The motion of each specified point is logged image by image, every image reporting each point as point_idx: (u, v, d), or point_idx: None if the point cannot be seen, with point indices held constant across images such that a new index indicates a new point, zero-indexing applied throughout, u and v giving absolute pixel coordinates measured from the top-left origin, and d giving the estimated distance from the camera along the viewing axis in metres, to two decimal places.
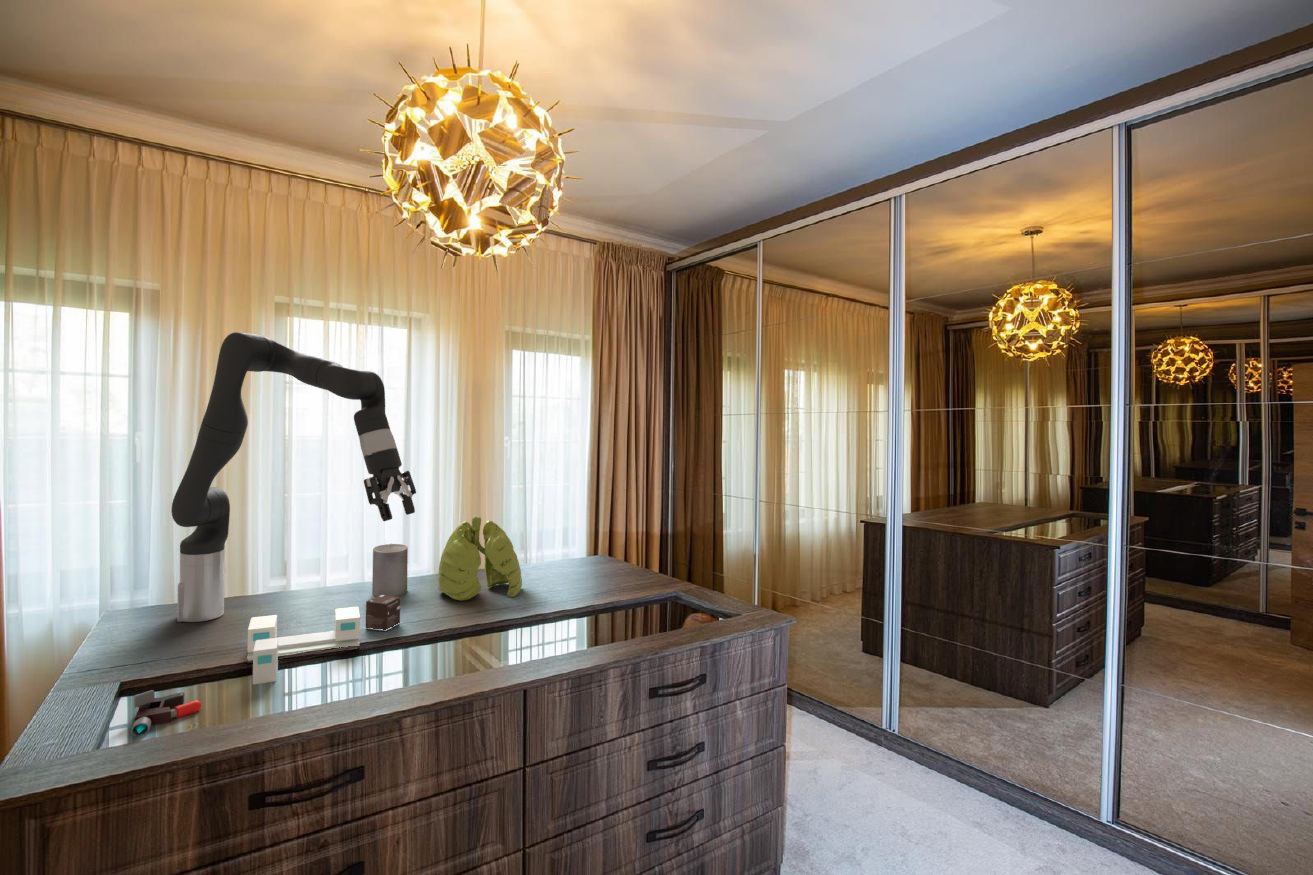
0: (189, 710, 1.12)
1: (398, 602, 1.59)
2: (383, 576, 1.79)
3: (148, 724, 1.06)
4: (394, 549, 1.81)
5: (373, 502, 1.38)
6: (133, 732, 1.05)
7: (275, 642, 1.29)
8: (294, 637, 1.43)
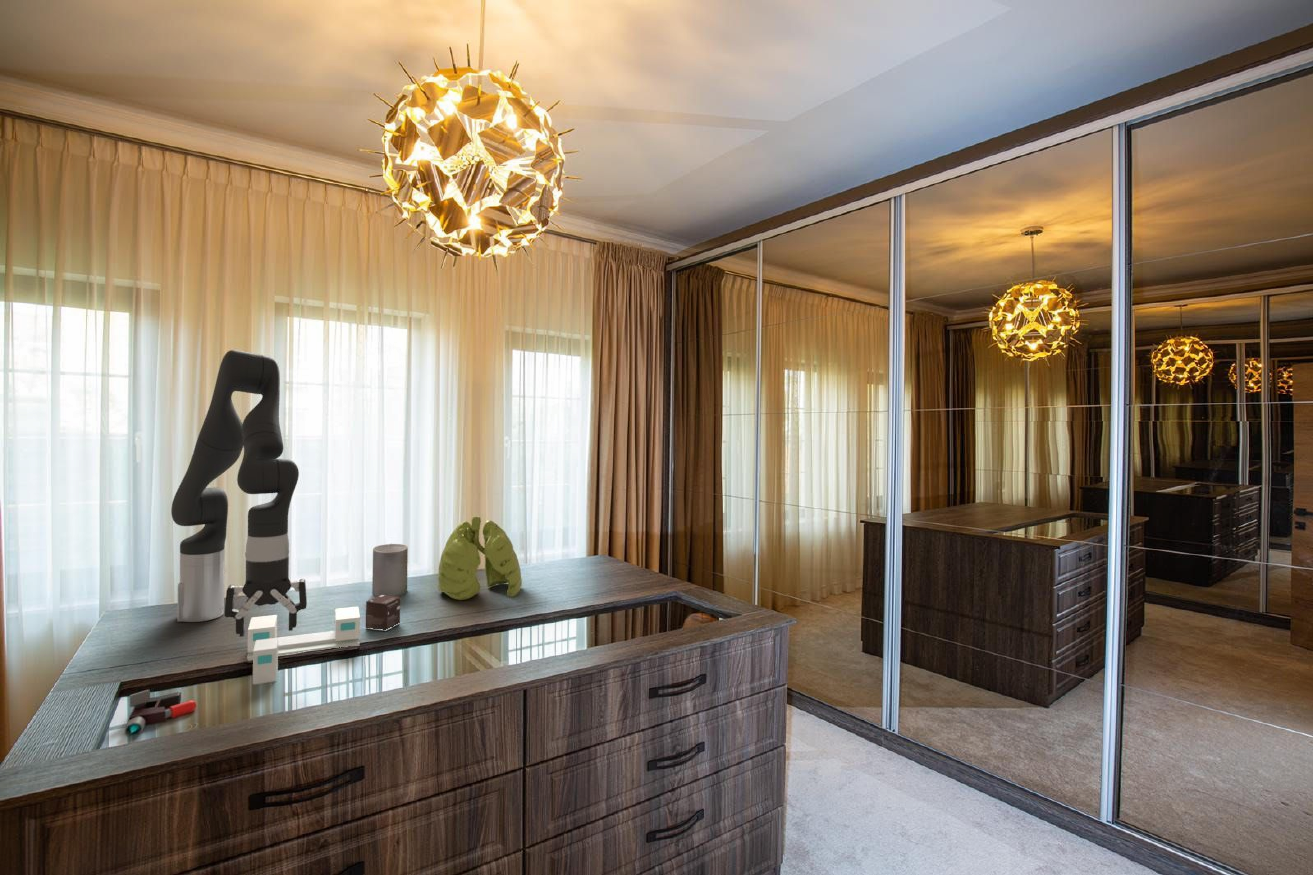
0: (184, 710, 1.12)
1: (398, 602, 1.59)
2: (383, 576, 1.79)
3: (141, 724, 1.06)
4: (394, 549, 1.81)
5: None
6: (127, 732, 1.05)
7: (275, 642, 1.29)
8: (294, 637, 1.43)
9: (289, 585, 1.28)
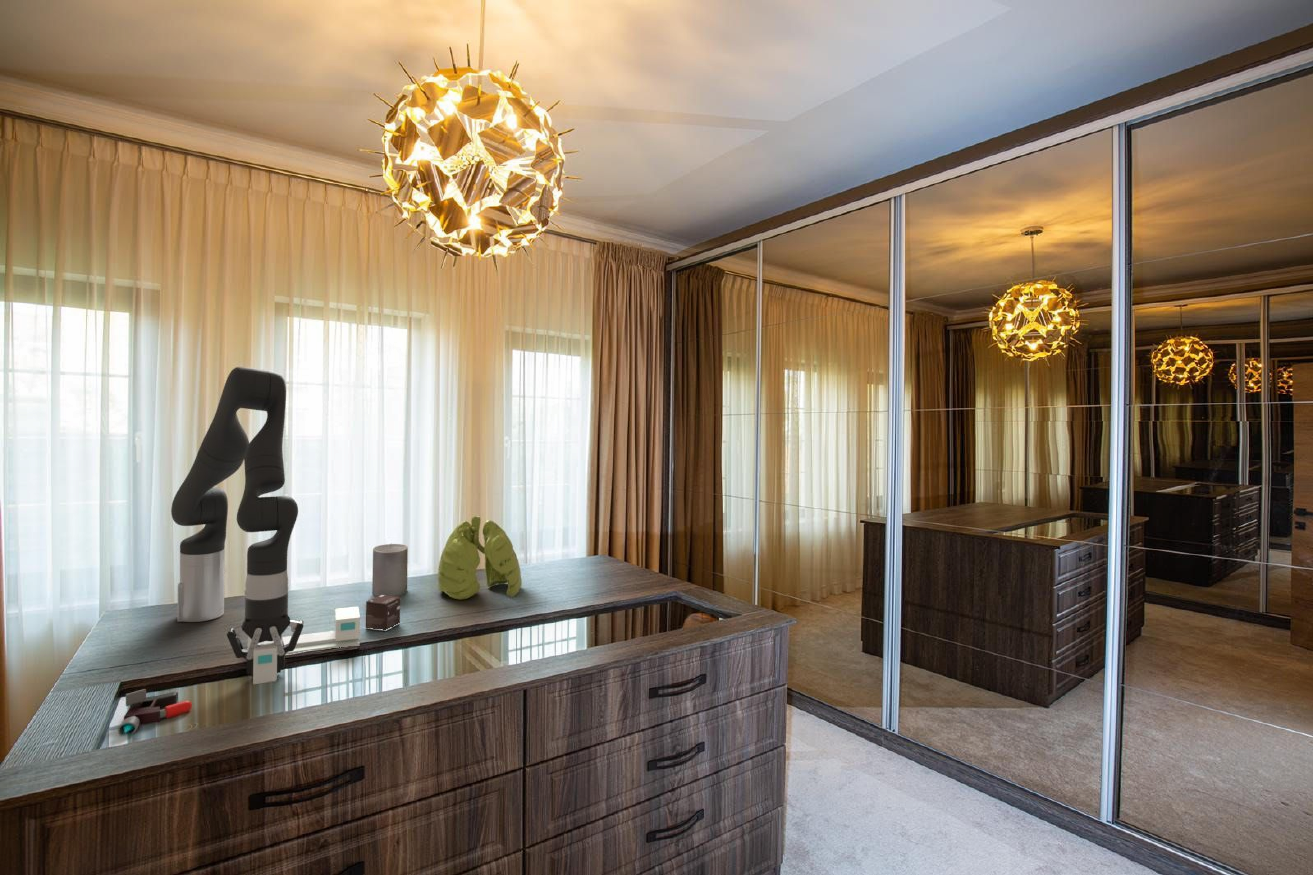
0: (179, 711, 1.11)
1: (398, 602, 1.59)
2: (383, 576, 1.79)
3: (135, 724, 1.06)
4: (394, 549, 1.81)
5: None
6: (120, 731, 1.05)
7: None
8: None
9: (288, 623, 1.28)
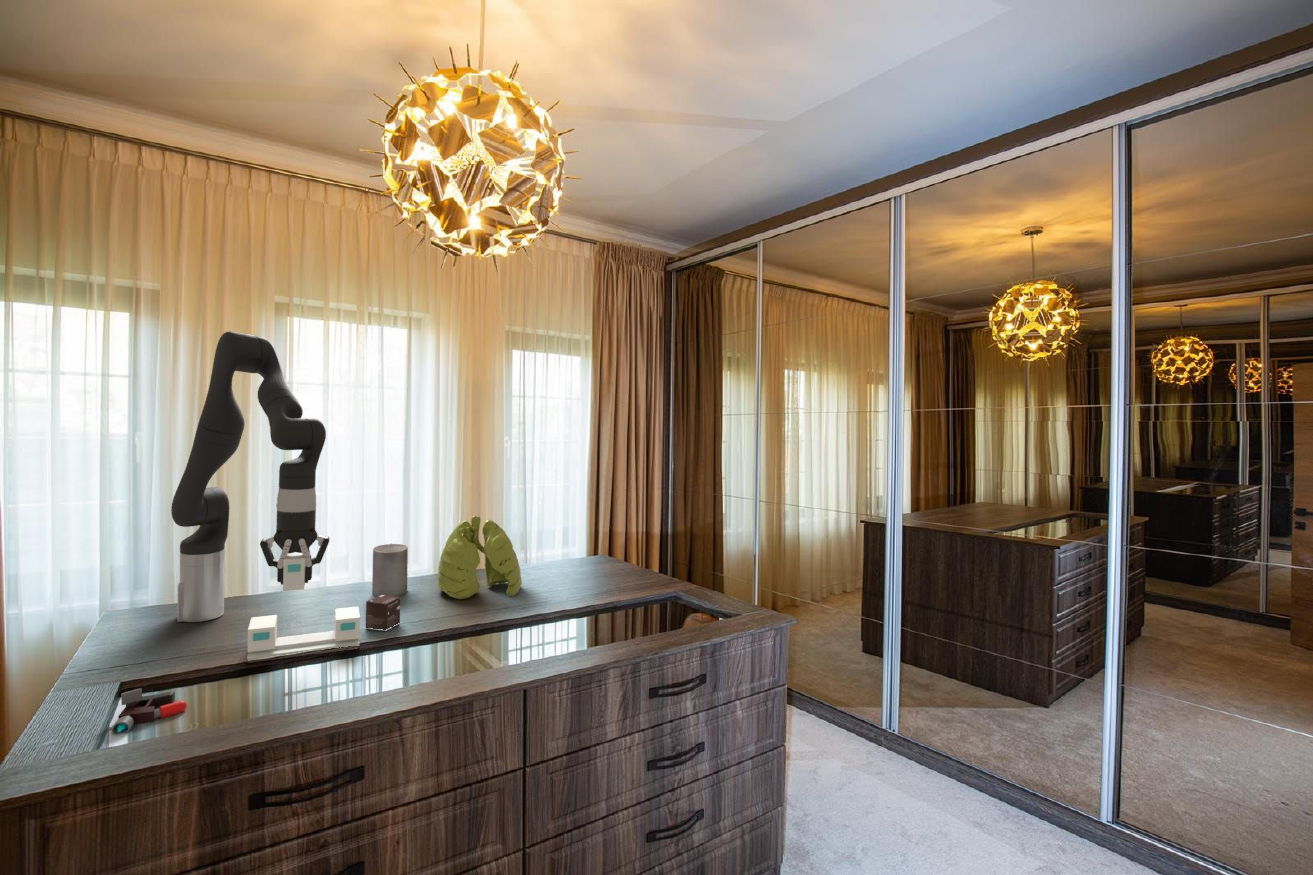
0: (173, 711, 1.11)
1: (398, 602, 1.59)
2: (383, 576, 1.79)
3: (129, 723, 1.06)
4: (394, 549, 1.81)
5: None
6: (114, 731, 1.05)
7: None
8: (294, 637, 1.43)
9: (315, 537, 1.38)
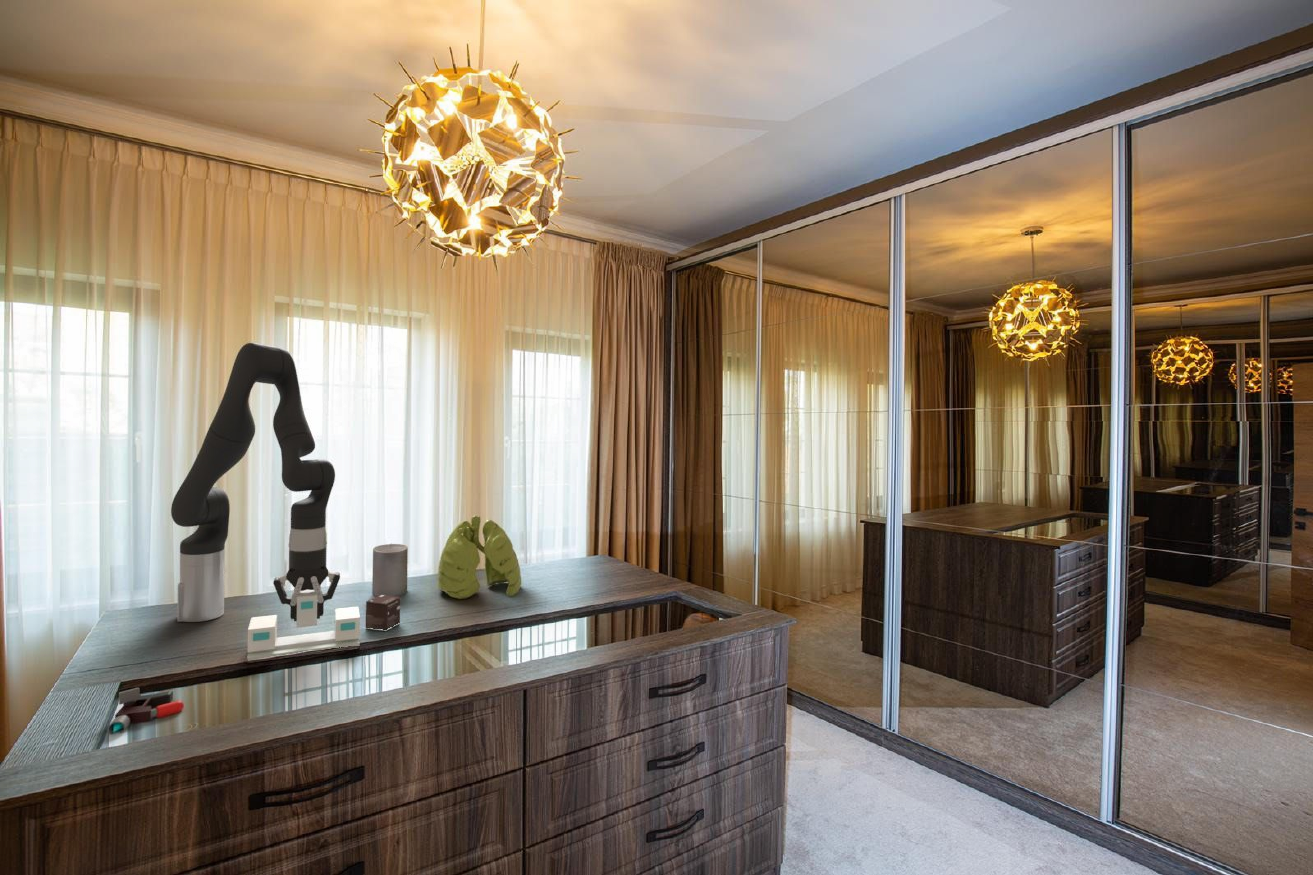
0: (170, 711, 1.11)
1: (399, 602, 1.59)
2: (383, 576, 1.79)
3: (125, 723, 1.06)
4: (394, 549, 1.81)
5: None
6: (110, 730, 1.05)
7: None
8: (294, 637, 1.43)
9: (327, 574, 1.43)
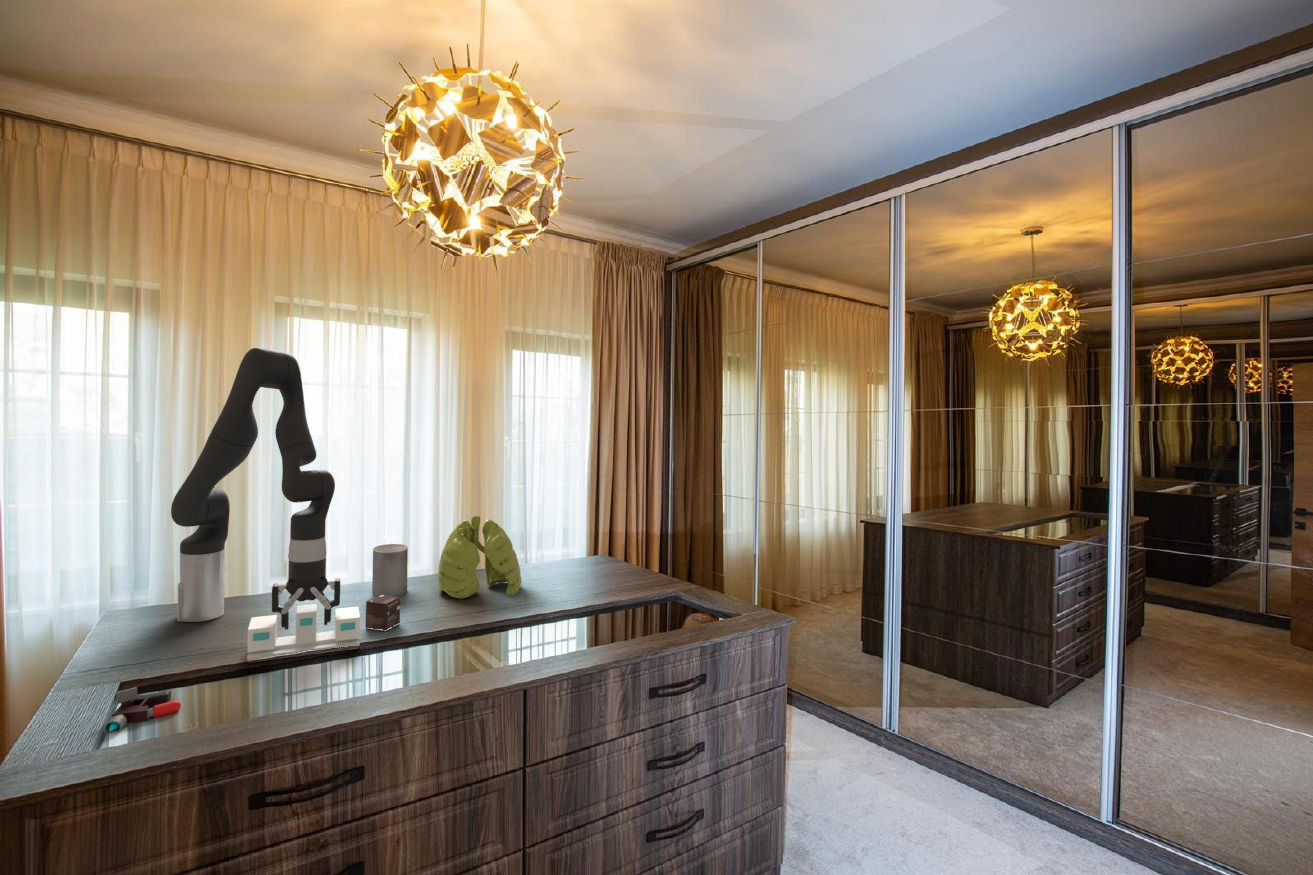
0: (167, 710, 1.11)
1: (399, 602, 1.59)
2: (383, 576, 1.79)
3: (121, 722, 1.06)
4: (394, 549, 1.81)
5: None
6: (106, 729, 1.05)
7: (314, 607, 1.43)
8: (294, 637, 1.43)
9: (326, 583, 1.43)
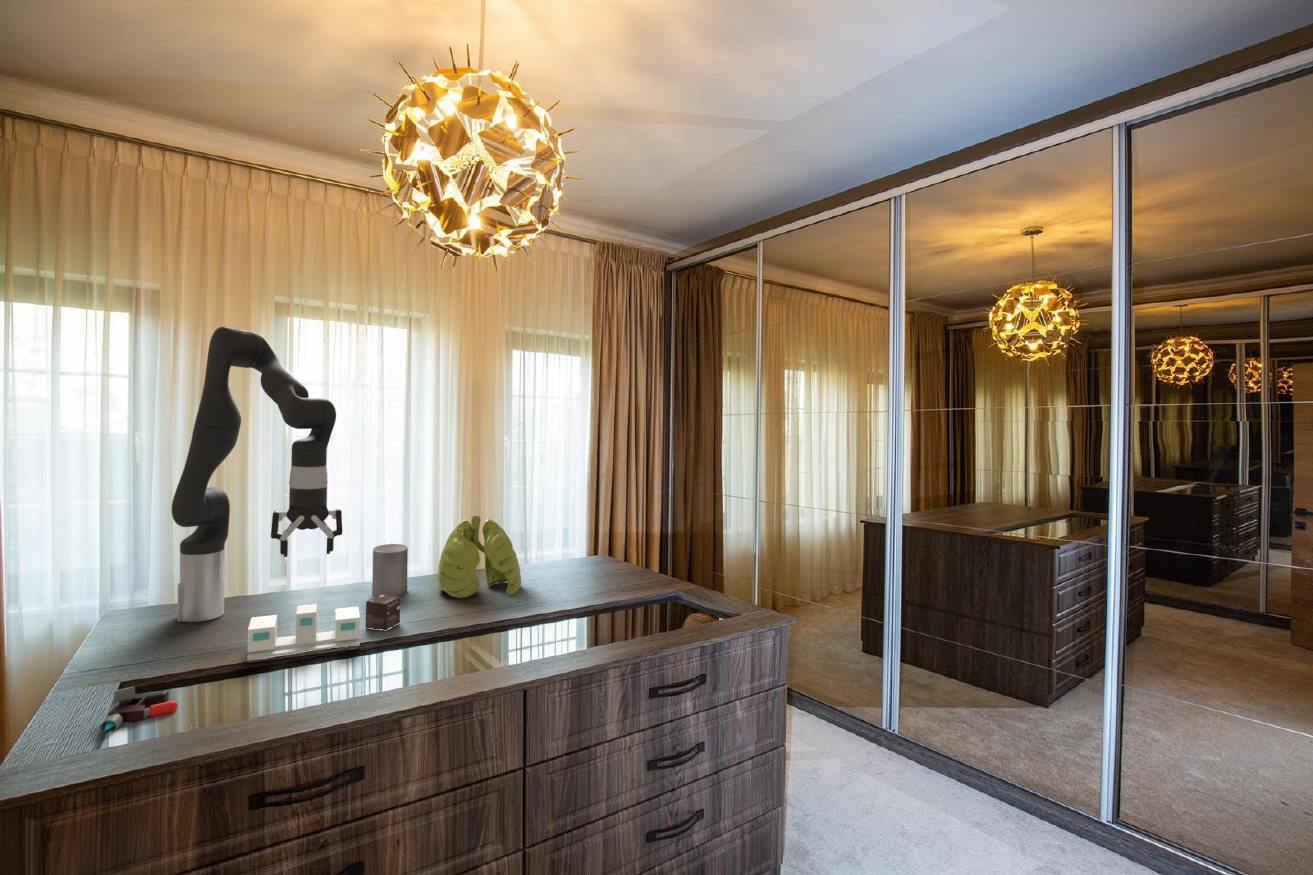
0: (163, 711, 1.11)
1: (398, 602, 1.59)
2: (383, 576, 1.79)
3: (116, 722, 1.06)
4: (394, 549, 1.81)
5: None
6: (102, 728, 1.05)
7: (314, 607, 1.43)
8: (294, 637, 1.43)
9: (327, 512, 1.42)
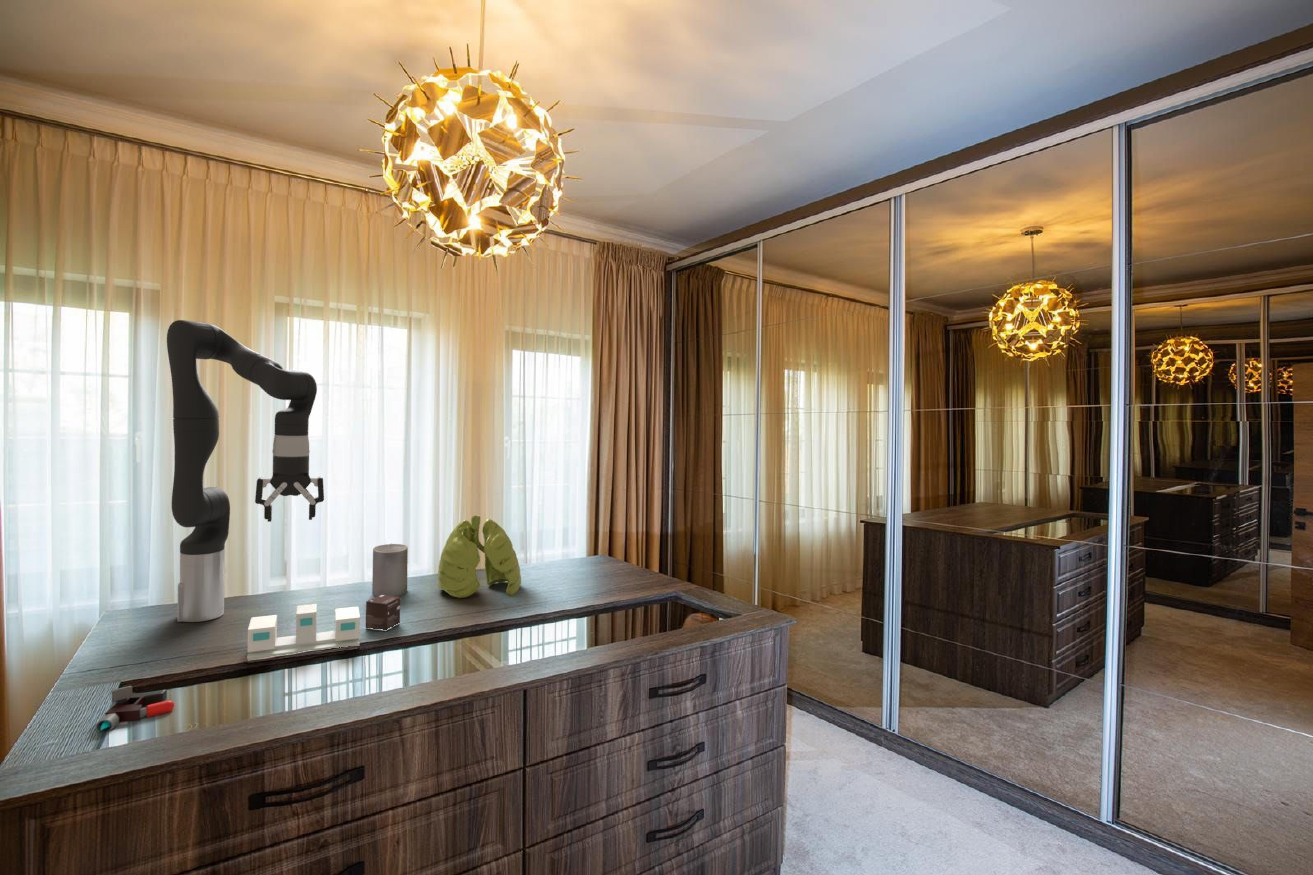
0: (159, 710, 1.11)
1: (398, 602, 1.59)
2: (383, 576, 1.79)
3: (112, 721, 1.06)
4: (394, 549, 1.81)
5: None
6: (98, 728, 1.05)
7: (314, 607, 1.43)
8: (294, 637, 1.43)
9: (309, 480, 1.49)
